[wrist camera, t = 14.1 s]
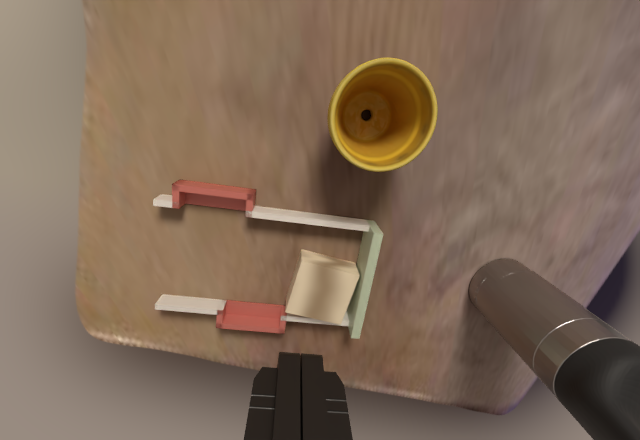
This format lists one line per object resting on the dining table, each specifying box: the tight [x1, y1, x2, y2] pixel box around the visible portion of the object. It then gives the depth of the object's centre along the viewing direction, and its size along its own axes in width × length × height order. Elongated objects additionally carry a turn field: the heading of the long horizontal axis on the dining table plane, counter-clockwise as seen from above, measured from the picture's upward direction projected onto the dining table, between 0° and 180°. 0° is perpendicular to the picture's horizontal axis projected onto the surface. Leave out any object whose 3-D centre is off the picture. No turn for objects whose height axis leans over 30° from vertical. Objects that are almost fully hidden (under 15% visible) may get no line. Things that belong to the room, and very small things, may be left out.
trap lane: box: [153, 180, 383, 339], centre depth 43 cm, size 28×20×5 cm
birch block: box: [285, 249, 360, 325], centre depth 45 cm, size 8×8×4 cm
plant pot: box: [328, 58, 437, 172], centre depth 35 cm, size 10×10×10 cm
